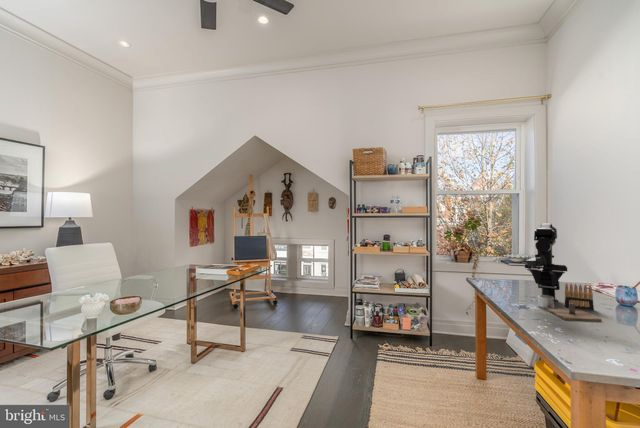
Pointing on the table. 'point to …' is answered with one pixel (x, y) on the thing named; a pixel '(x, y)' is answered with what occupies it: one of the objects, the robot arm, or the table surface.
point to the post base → (573, 314)
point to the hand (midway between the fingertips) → (545, 284)
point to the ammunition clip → (577, 301)
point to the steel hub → (545, 301)
